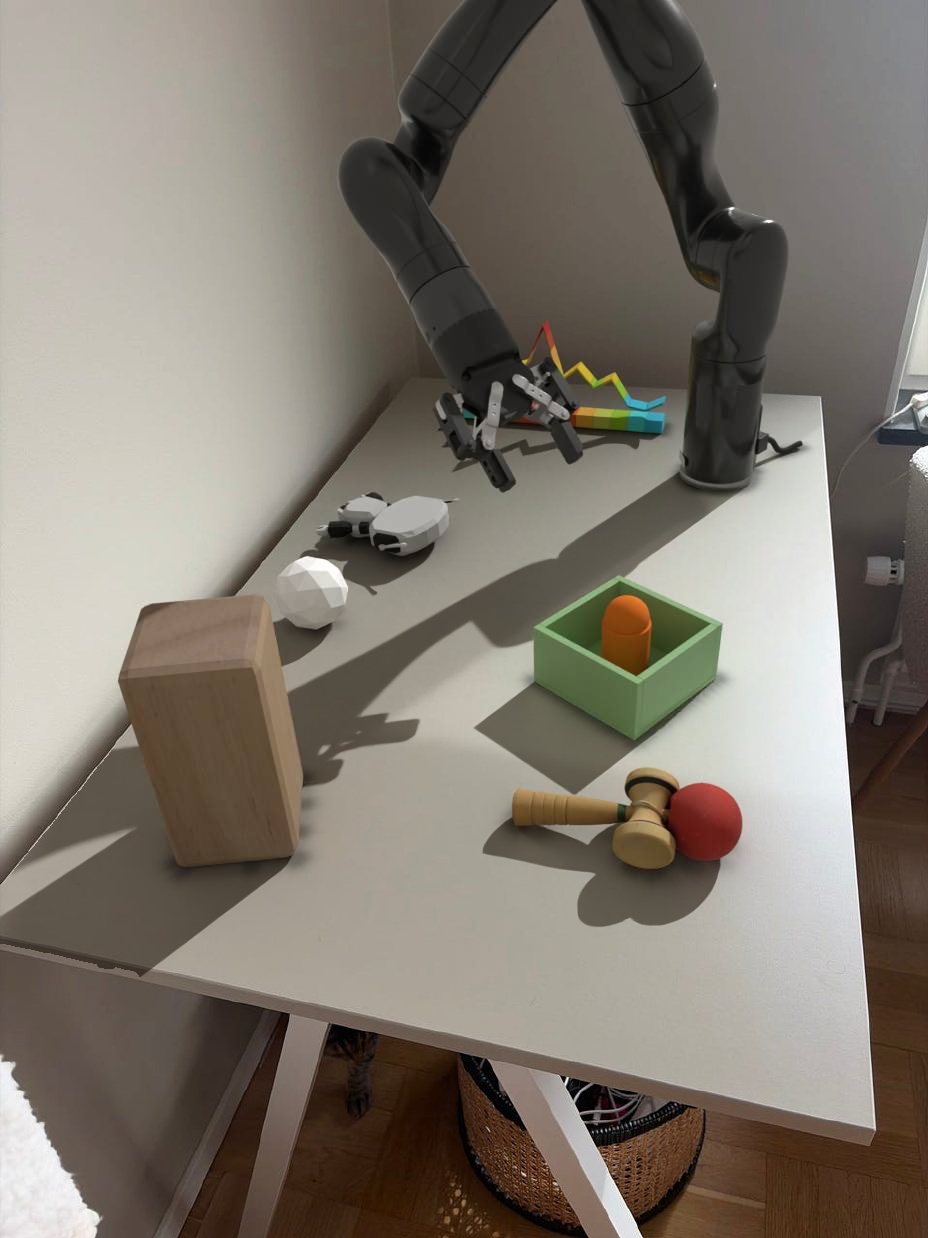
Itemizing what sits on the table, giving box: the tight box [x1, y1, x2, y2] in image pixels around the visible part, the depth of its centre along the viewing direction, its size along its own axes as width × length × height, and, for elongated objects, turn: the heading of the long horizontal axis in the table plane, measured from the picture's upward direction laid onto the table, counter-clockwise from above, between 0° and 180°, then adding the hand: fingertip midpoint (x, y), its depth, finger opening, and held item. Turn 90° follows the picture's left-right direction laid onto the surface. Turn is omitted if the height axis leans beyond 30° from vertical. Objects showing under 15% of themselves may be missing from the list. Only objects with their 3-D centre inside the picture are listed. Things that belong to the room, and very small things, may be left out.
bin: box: [532, 574, 723, 741], centre depth 94 cm, size 13×13×7 cm
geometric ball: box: [273, 555, 349, 630], centre depth 105 cm, size 8×8×8 cm
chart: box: [462, 319, 667, 434], centre depth 143 cm, size 30×3×15 cm, turn 72°
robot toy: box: [315, 491, 461, 557], centre depth 120 cm, size 12×4×15 cm
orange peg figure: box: [601, 595, 651, 677], centre depth 93 cm, size 5×5×9 cm
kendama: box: [511, 766, 743, 870], centre depth 78 cm, size 8×6×18 cm
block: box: [117, 593, 304, 868], centre depth 77 cm, size 10×10×20 cm
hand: (543, 473), depth 93 cm, fingers open, 8 cm apart
